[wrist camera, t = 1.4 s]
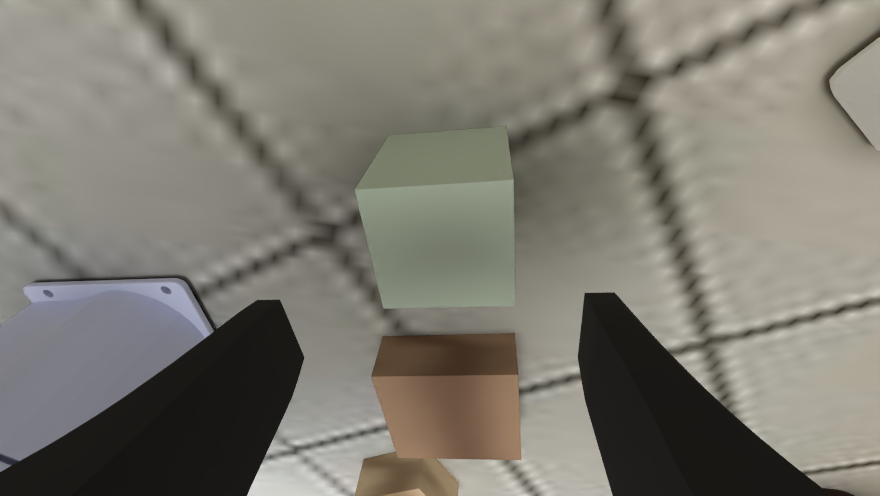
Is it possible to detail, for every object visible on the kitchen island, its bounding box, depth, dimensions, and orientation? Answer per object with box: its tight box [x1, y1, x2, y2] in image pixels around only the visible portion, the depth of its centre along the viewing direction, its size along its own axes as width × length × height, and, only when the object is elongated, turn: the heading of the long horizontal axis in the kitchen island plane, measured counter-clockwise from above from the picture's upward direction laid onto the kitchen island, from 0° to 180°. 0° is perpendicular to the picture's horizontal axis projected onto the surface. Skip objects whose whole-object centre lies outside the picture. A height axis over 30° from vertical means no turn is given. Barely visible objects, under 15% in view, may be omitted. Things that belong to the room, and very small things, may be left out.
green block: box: [355, 126, 515, 309], centre depth 15 cm, size 4×4×5 cm
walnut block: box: [371, 333, 521, 460], centre depth 22 cm, size 7×7×3 cm
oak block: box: [355, 452, 458, 496], centre depth 28 cm, size 5×5×3 cm
